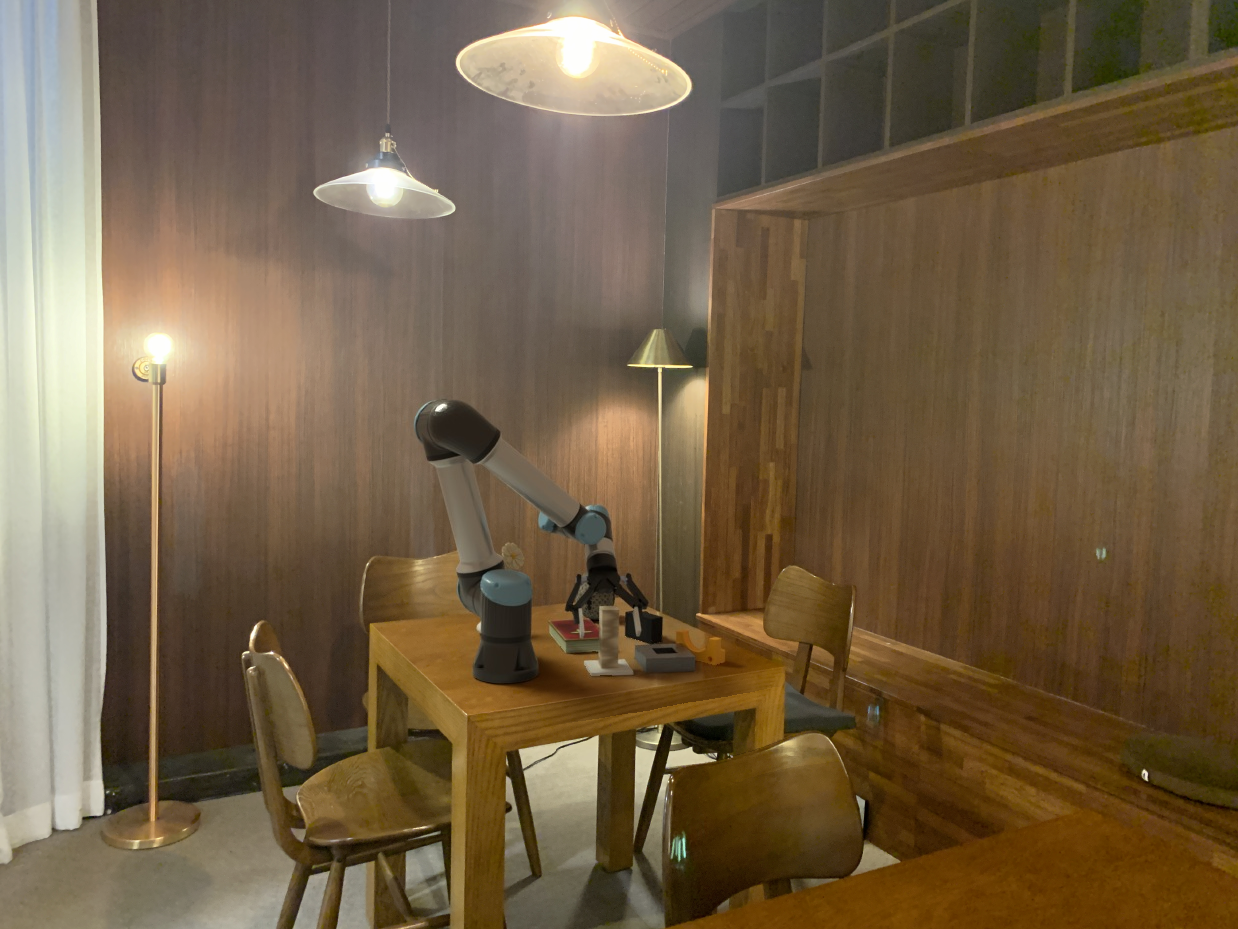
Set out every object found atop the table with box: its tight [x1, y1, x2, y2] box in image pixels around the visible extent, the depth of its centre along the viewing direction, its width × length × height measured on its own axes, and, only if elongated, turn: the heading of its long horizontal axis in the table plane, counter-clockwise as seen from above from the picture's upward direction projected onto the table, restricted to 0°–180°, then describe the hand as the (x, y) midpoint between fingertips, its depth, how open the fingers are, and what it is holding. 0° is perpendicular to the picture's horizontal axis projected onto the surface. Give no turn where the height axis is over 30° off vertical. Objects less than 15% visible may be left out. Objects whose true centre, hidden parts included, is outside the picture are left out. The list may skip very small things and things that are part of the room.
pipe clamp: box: [675, 628, 726, 666], centre depth 224 cm, size 12×4×6 cm, turn 49°
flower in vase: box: [476, 541, 526, 634], centre depth 243 cm, size 13×11×25 cm
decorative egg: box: [574, 571, 616, 621], centre depth 262 cm, size 12×12×15 cm
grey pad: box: [583, 658, 634, 677], centre depth 213 cm, size 10×10×1 cm
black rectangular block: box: [624, 609, 664, 644], centre depth 241 cm, size 10×5×7 cm, turn 42°
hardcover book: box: [547, 618, 599, 654], centre depth 237 cm, size 12×21×4 cm, turn 16°
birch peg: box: [597, 605, 620, 669], centre depth 213 cm, size 4×4×14 cm
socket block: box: [634, 642, 696, 674], centre depth 218 cm, size 12×12×4 cm
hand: (610, 634), depth 212 cm, fingers open, 13 cm apart
